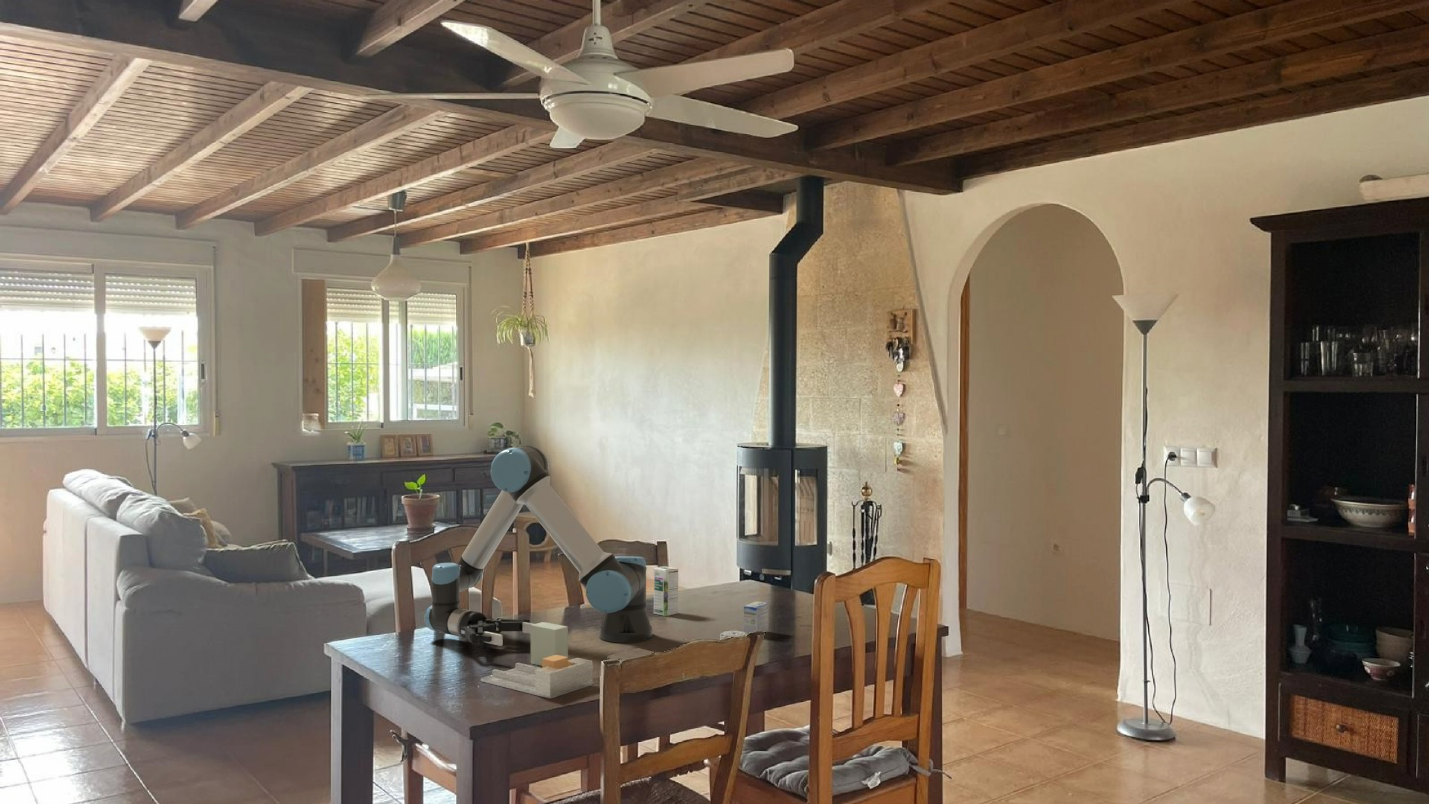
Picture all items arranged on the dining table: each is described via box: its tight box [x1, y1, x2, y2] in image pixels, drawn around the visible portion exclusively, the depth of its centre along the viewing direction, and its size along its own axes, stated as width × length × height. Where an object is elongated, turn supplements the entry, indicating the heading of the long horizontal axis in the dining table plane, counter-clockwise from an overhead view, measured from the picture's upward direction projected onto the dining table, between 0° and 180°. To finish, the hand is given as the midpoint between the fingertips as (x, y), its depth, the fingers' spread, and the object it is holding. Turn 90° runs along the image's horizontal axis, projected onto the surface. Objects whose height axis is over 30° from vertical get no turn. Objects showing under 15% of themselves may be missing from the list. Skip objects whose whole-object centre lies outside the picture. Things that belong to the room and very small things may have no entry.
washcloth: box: [606, 647, 655, 660], centre depth 272 cm, size 12×18×3 cm, turn 49°
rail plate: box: [480, 657, 594, 700], centre depth 256 cm, size 14×24×6 cm, turn 53°
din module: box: [530, 621, 569, 667], centre depth 273 cm, size 4×9×10 cm, turn 53°
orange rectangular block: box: [541, 655, 569, 669], centre depth 252 cm, size 5×4×6 cm
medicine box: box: [743, 601, 770, 634], centre depth 305 cm, size 8×4×9 cm, turn 152°
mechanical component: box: [719, 630, 748, 641], centre depth 289 cm, size 10×4×10 cm
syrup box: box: [653, 566, 679, 617], centre depth 332 cm, size 6×6×14 cm
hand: (521, 635), depth 279 cm, fingers open, 13 cm apart
